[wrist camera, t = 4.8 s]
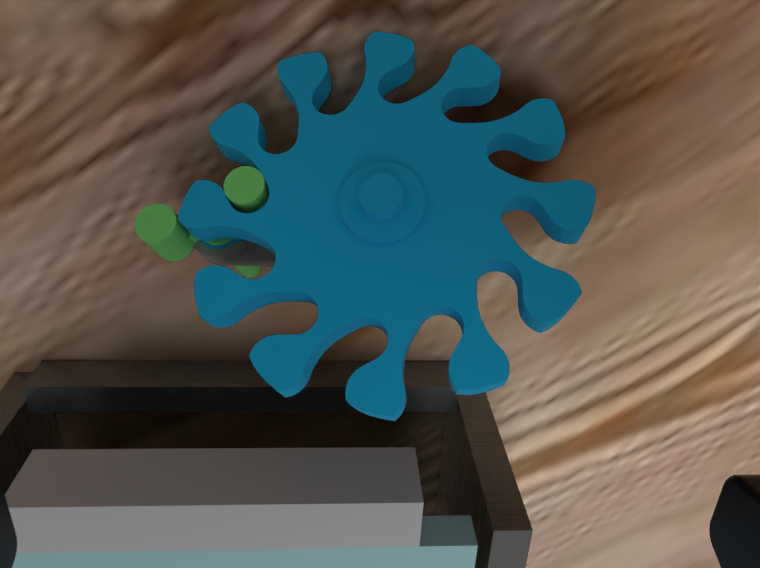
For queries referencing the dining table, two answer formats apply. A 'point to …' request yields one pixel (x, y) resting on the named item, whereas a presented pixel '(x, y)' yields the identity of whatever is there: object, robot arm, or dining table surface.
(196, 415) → the dining table surface
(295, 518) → the sliding box lid
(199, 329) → the dining table surface
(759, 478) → the robot arm
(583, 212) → the gear
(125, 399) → the grey drawer box
